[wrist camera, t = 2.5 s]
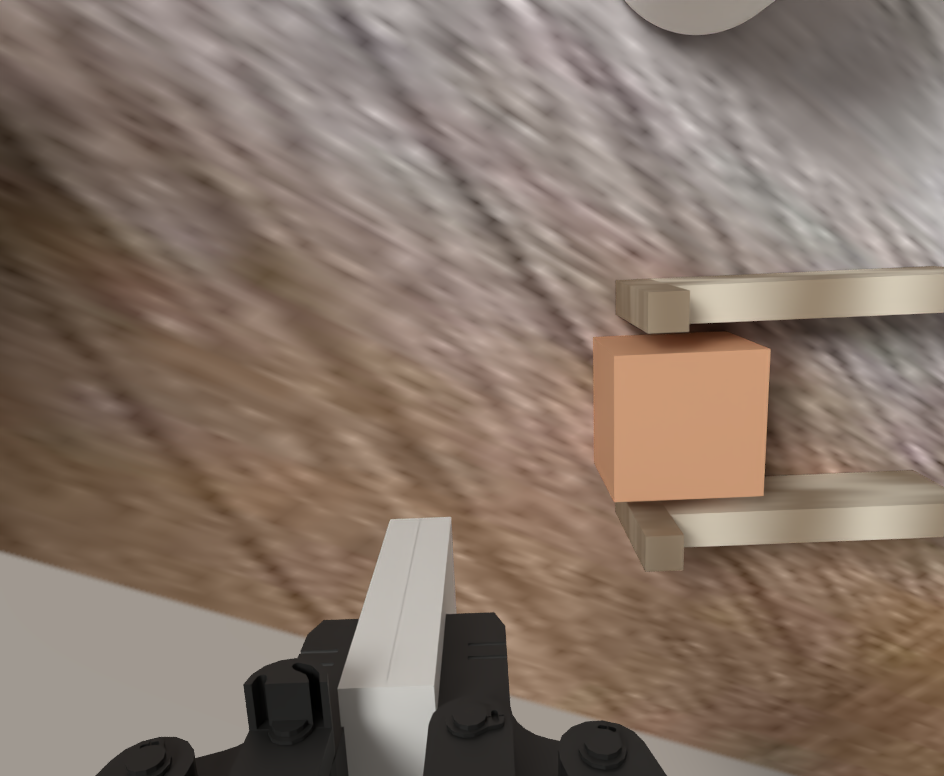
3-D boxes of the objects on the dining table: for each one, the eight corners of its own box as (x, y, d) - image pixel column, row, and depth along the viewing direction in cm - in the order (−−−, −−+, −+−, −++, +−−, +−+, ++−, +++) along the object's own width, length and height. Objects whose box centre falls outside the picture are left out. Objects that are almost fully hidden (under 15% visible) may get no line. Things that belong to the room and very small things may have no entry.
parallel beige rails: (615, 512, 34) (645, 571, 28) (615, 280, 31) (648, 292, 25) (910, 500, 33) (1002, 557, 28) (933, 265, 31) (1040, 274, 25)
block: (593, 462, 33) (614, 502, 28) (592, 336, 32) (614, 356, 27) (720, 456, 33) (763, 496, 28) (725, 330, 32) (770, 349, 27)
